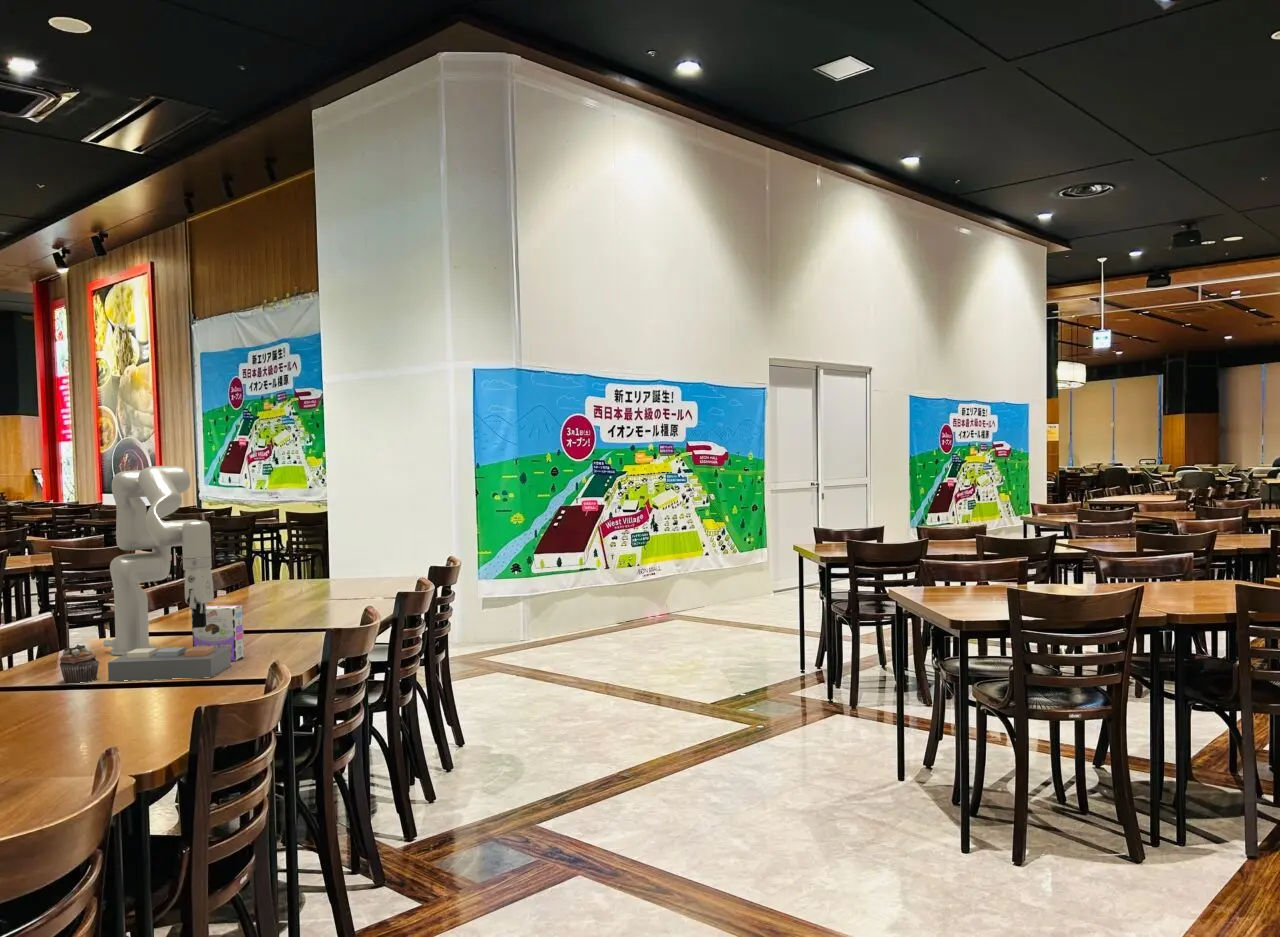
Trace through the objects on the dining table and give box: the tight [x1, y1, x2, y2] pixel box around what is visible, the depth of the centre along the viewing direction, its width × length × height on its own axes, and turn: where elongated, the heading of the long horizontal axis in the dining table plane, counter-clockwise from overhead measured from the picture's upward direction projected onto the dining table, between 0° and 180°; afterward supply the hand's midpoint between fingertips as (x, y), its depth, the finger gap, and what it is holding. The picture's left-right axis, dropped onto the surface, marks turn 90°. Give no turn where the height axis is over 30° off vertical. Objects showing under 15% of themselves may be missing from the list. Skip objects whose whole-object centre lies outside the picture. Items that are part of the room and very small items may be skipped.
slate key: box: [156, 646, 187, 657], centre depth 281 cm, size 6×6×4 cm
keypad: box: [107, 647, 232, 682], centre depth 281 cm, size 28×16×6 cm, turn 94°
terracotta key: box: [185, 646, 214, 656], centre depth 282 cm, size 6×6×4 cm
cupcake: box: [59, 644, 100, 684], centre depth 275 cm, size 10×10×10 cm
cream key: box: [127, 647, 159, 658], centre depth 281 cm, size 6×6×4 cm
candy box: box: [190, 605, 245, 662], centre depth 300 cm, size 14×6×16 cm, turn 84°
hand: (199, 627), depth 281 cm, fingers closed
